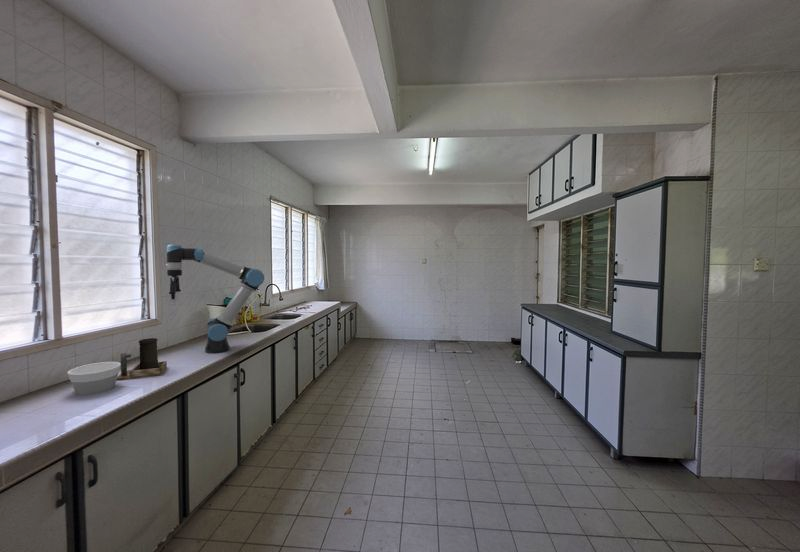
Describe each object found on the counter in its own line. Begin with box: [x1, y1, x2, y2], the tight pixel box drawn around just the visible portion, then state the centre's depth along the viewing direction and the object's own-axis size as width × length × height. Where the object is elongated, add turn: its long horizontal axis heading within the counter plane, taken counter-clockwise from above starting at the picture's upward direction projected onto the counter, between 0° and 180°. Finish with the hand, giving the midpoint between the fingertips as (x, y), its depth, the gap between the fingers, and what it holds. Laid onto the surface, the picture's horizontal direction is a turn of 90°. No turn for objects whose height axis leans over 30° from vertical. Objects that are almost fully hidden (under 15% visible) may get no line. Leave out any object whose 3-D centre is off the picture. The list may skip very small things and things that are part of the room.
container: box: [138, 337, 159, 370], centre depth 182 cm, size 9×9×18 cm
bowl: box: [67, 361, 121, 396], centre depth 159 cm, size 19×19×11 cm
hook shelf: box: [116, 352, 168, 382], centre depth 180 cm, size 20×14×13 cm
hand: (175, 303), depth 203 cm, fingers open, 13 cm apart
